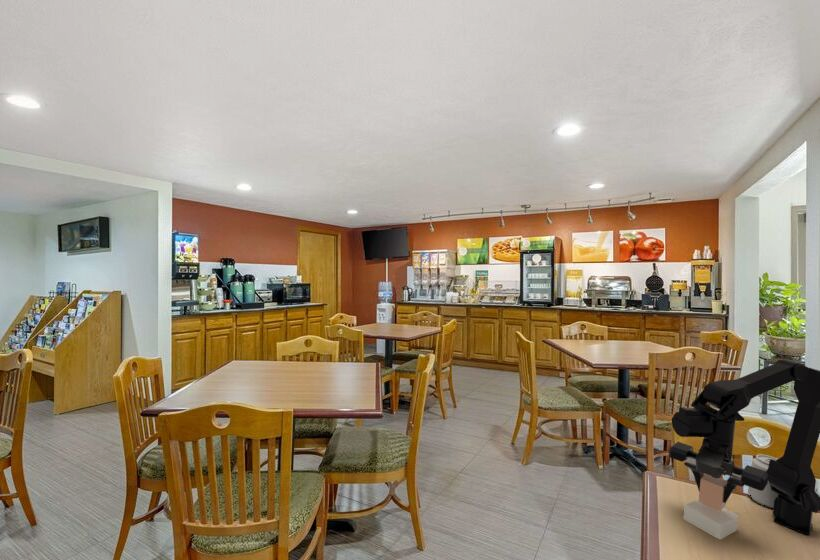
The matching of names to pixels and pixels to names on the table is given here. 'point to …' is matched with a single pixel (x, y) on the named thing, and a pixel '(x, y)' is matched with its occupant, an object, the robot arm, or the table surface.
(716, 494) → the block
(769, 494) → the can
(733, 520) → the white rectangular box
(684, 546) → the table surface
